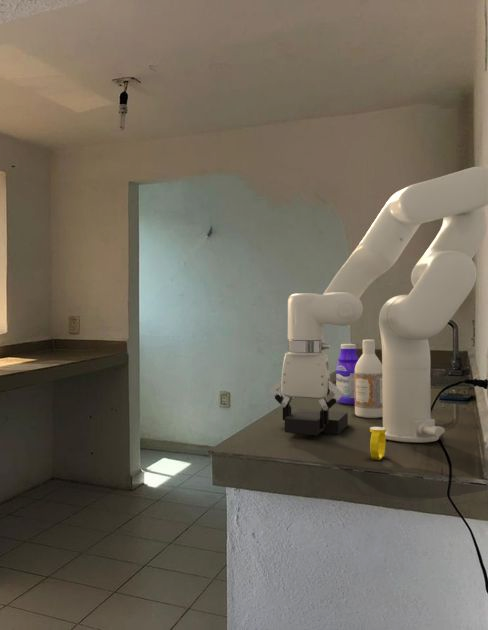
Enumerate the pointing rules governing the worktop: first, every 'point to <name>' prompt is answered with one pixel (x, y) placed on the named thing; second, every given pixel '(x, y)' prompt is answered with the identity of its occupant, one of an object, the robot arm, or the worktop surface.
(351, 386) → the bottle
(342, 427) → the notch pad
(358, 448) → the worktop surface
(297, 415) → the tongue pad
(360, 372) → the bath foam
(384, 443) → the watch
